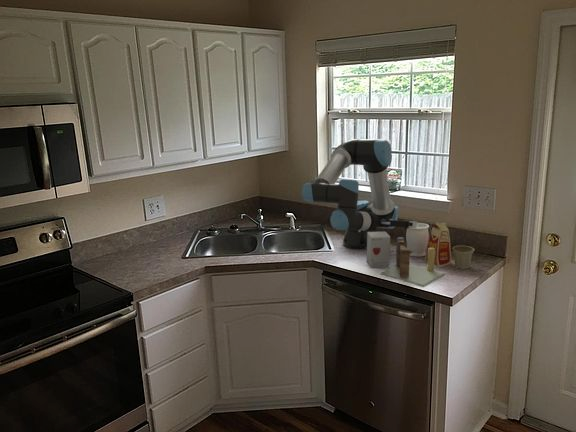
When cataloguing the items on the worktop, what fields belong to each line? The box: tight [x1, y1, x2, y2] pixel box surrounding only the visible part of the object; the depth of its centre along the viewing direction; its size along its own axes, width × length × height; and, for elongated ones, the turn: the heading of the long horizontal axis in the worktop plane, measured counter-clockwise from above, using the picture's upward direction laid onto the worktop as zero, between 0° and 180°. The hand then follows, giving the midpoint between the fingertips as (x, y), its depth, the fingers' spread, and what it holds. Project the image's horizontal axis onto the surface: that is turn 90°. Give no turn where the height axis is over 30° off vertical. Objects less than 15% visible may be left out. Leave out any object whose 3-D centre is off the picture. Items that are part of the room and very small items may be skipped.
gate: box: [398, 240, 413, 277], centre depth 209 cm, size 14×5×12 cm, turn 175°
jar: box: [405, 222, 430, 258], centre depth 234 cm, size 11×10×15 cm
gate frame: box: [380, 236, 446, 288], centre depth 209 cm, size 21×18×14 cm
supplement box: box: [366, 231, 391, 269], centre depth 221 cm, size 9×9×15 cm
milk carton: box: [424, 221, 452, 268], centre depth 221 cm, size 9×9×20 cm
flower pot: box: [451, 245, 475, 270], centre depth 217 cm, size 9×9×9 cm
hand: (403, 223), depth 201 cm, fingers open, 13 cm apart
